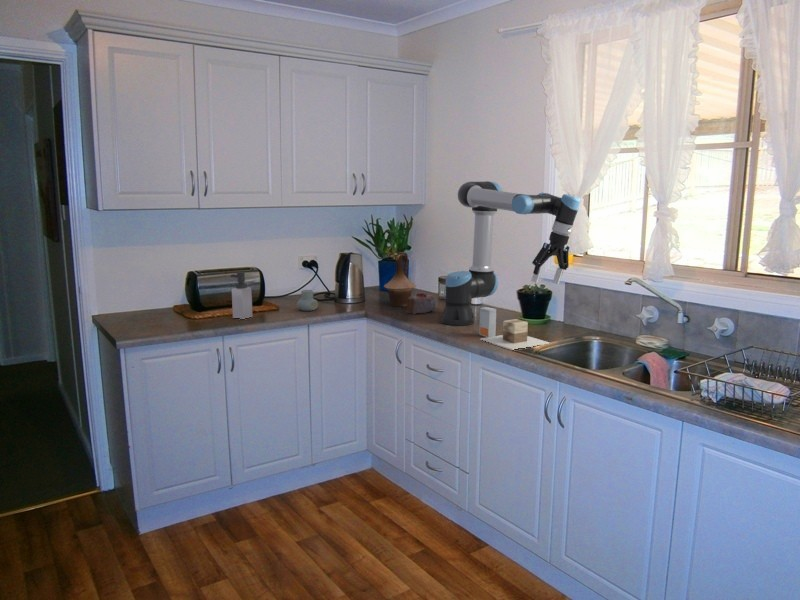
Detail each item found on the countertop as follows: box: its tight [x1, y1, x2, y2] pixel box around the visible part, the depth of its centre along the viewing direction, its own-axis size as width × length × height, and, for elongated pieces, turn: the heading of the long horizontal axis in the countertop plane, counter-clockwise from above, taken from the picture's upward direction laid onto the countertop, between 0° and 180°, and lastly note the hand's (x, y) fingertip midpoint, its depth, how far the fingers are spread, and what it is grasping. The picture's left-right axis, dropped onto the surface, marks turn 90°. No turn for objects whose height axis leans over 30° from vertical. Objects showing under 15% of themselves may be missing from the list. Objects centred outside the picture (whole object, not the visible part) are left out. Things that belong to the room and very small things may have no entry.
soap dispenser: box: [230, 271, 253, 320], centre depth 305 cm, size 6×9×22 cm
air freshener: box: [296, 289, 319, 312], centre depth 325 cm, size 11×8×10 cm
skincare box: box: [478, 306, 497, 338], centre depth 271 cm, size 6×4×12 cm
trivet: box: [480, 334, 550, 351], centre depth 262 cm, size 20×20×1 cm
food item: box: [406, 292, 437, 315], centre depth 320 cm, size 14×8×10 cm, turn 127°
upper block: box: [502, 318, 529, 334], centre depth 261 cm, size 7×7×4 cm
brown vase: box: [383, 251, 417, 307], centre depth 337 cm, size 18×17×28 cm
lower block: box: [502, 330, 528, 343], centre depth 262 cm, size 7×7×4 cm
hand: (545, 282), depth 264 cm, fingers open, 13 cm apart
